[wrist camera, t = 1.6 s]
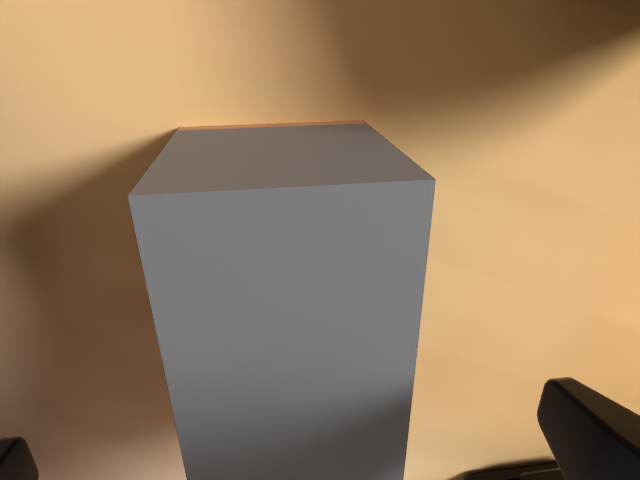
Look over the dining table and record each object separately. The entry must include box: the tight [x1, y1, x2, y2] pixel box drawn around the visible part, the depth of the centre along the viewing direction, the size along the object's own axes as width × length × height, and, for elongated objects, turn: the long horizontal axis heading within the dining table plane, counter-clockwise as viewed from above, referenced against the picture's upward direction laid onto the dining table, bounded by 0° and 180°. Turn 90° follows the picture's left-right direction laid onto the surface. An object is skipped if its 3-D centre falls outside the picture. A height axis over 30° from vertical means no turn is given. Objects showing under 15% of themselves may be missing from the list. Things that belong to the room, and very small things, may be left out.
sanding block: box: [128, 121, 436, 480], centre depth 10 cm, size 8×4×5 cm, turn 0°
